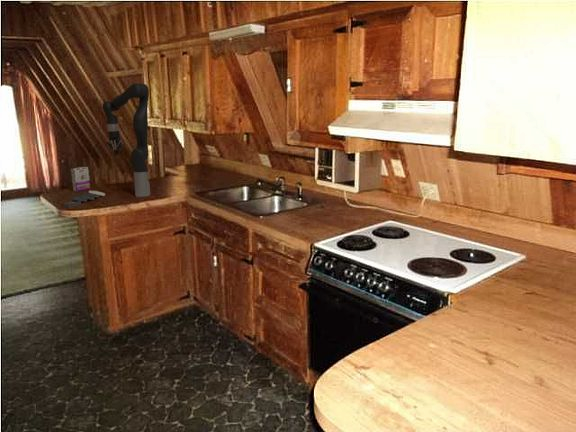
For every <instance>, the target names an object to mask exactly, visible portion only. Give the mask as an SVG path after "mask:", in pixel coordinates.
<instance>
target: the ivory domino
mask: <svg viewBox="0 0 576 432" xmlns="http://www.w3.org/2000/svg"><path fill="white" fill-rule="evenodd" d="M88 193H93V194H98V195H100V196H101V197H105V195H106V193H105V192H101V191H98V190H88Z"/></svg>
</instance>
